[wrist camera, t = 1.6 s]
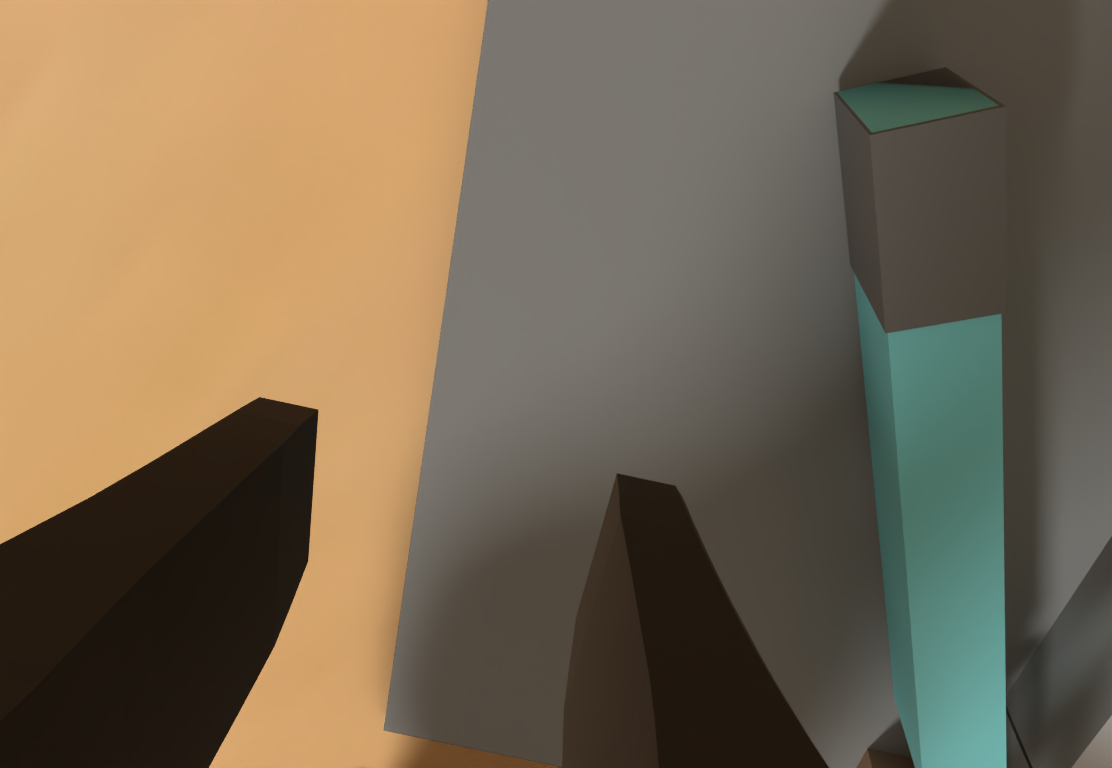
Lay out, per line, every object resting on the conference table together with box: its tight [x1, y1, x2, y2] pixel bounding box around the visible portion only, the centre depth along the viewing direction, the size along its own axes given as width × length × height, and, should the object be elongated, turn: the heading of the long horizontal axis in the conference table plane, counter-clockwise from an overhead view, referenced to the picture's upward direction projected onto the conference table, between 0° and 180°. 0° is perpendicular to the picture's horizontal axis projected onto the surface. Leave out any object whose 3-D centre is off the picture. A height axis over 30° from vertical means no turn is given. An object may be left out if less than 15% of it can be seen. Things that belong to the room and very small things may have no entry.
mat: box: [384, 0, 1112, 768], centre depth 18 cm, size 22×18×1 cm
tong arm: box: [833, 67, 1007, 768], centre depth 16 cm, size 14×2×3 cm, turn 14°
